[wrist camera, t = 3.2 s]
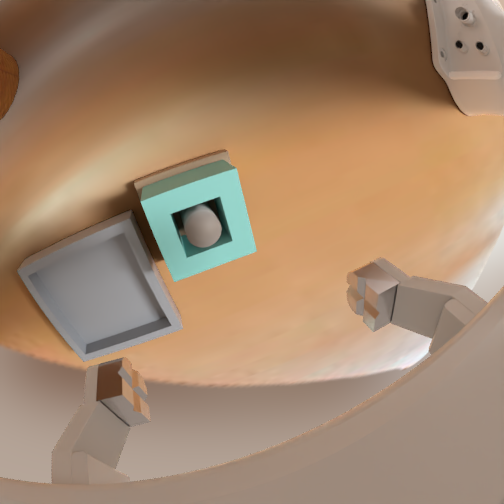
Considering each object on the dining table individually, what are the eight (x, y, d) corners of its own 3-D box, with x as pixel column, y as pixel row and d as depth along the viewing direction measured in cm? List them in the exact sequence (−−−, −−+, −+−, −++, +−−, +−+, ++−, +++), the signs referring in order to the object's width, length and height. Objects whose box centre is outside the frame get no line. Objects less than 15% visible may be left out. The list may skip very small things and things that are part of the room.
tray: (24, 259, 18) (16, 271, 16) (131, 209, 19) (129, 218, 18) (85, 347, 23) (83, 361, 22) (180, 314, 25) (183, 328, 24)
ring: (142, 187, 18) (140, 201, 15) (222, 159, 19) (236, 168, 16) (170, 257, 21) (174, 282, 18) (241, 231, 22) (256, 251, 19)
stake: (134, 180, 19) (129, 199, 14) (224, 149, 20) (244, 159, 16) (166, 259, 22) (171, 294, 18) (245, 229, 23) (267, 257, 19)
